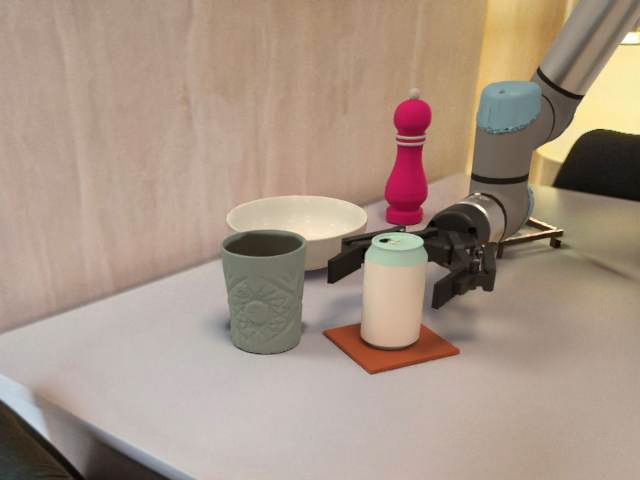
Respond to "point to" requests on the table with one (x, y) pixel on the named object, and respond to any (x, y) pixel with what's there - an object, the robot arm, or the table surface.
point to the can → (393, 290)
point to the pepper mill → (408, 162)
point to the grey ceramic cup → (265, 288)
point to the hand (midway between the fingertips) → (380, 284)
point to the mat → (387, 359)
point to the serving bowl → (303, 222)
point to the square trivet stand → (533, 236)
